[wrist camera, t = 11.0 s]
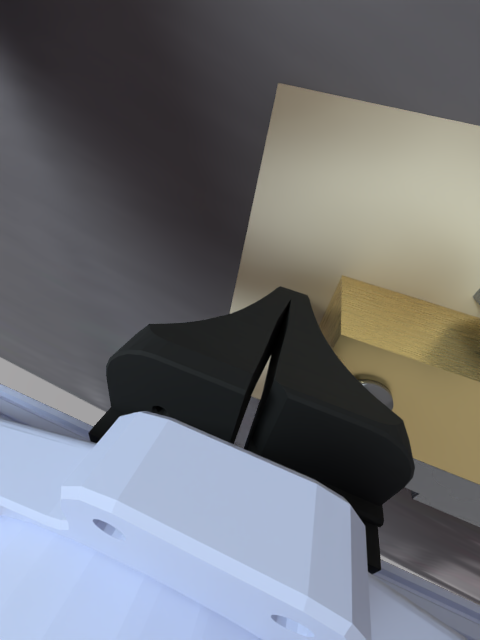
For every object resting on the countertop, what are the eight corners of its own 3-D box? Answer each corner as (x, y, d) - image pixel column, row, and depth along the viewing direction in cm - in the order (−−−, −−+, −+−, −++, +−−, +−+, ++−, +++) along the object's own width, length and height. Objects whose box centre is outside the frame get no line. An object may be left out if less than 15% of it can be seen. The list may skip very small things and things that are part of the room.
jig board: (519, 491, 14) (528, 507, 14) (220, 372, 17) (215, 381, 16) (1003, 244, 6) (1079, 254, 6) (282, 87, 9) (278, 82, 8)
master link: (491, 406, 11) (557, 523, 8) (310, 342, 13) (297, 418, 9) (567, 345, 9) (703, 465, 6) (341, 275, 11) (340, 339, 7)
